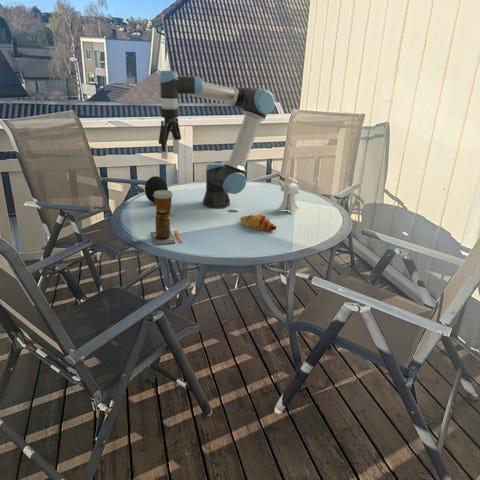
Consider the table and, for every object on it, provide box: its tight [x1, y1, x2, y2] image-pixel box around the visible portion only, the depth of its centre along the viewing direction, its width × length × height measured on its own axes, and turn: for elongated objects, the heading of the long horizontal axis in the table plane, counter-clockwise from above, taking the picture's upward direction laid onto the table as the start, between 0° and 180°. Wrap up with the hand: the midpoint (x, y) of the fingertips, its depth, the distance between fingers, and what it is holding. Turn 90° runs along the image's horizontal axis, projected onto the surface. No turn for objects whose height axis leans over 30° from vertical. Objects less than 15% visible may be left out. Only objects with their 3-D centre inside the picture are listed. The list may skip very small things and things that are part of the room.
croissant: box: [239, 214, 277, 232], centre depth 198 cm, size 21×10×8 cm, turn 53°
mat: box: [150, 230, 176, 246], centre depth 181 cm, size 9×14×1 cm, turn 17°
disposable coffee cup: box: [153, 189, 174, 217], centre depth 208 cm, size 10×10×12 cm
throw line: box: [174, 230, 183, 244], centre depth 183 cm, size 1×14×1 cm, turn 18°
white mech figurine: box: [277, 176, 300, 213], centre depth 221 cm, size 12×13×18 cm
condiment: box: [153, 209, 175, 241], centre depth 178 cm, size 7×8×12 cm
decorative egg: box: [144, 175, 169, 204], centre depth 225 cm, size 12×12×15 cm
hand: (170, 156), depth 191 cm, fingers open, 13 cm apart
